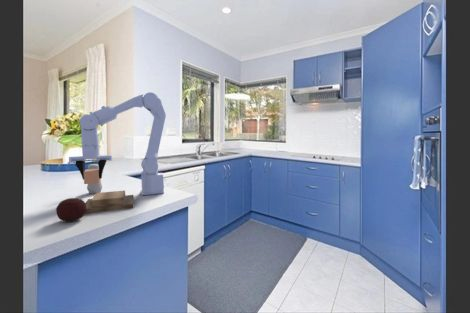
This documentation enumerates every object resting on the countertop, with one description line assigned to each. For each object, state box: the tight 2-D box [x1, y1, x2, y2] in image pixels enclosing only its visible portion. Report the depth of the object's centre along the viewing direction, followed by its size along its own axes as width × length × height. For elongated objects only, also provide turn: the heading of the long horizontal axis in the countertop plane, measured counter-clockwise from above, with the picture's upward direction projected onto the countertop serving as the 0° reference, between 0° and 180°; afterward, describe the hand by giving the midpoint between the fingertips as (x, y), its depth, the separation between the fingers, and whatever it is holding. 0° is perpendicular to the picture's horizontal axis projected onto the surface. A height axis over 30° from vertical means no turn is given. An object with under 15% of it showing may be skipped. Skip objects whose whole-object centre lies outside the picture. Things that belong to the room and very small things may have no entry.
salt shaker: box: [86, 163, 103, 195], centre depth 100 cm, size 6×6×13 cm
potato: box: [55, 197, 86, 222], centre depth 69 cm, size 7×8×7 cm
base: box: [84, 190, 135, 215], centre depth 84 cm, size 16×13×4 cm
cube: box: [83, 169, 102, 185], centre depth 91 cm, size 5×5×5 cm
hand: (92, 178), depth 91 cm, fingers closed on cube, 5 cm apart
